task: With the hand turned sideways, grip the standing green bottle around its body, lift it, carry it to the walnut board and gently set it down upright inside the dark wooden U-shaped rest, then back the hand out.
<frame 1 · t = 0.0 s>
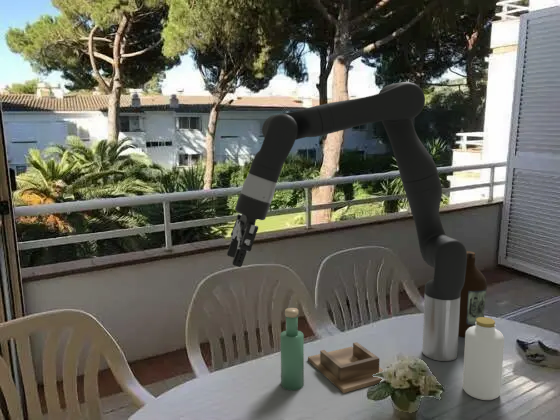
hand: (233, 260, 111), 31 cm above the table, tool tilted 20°, fingers open, 8 cm apart
potion bottle: (480, 393, 112), on the table
bottle: (292, 384, 116), on the table
bottle rest: (347, 369, 123), on the table
olive oil: (465, 332, 145), on the table
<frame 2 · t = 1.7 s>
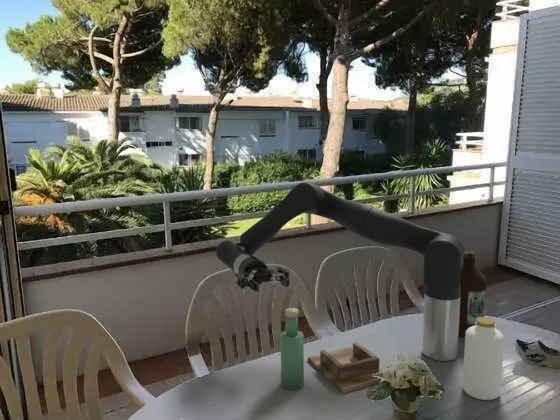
hand: (272, 285, 122), 22 cm above the table, tool horizontal, fingers open, 8 cm apart
nothing on the table moved.
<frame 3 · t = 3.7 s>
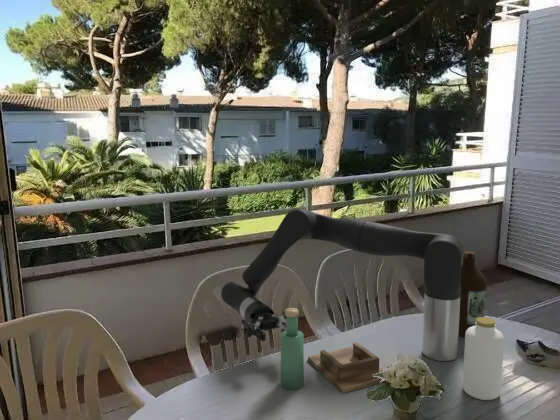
hand: (279, 334, 121), 10 cm above the table, tool horizontal, fingers open, 8 cm apart
nothing on the table moved.
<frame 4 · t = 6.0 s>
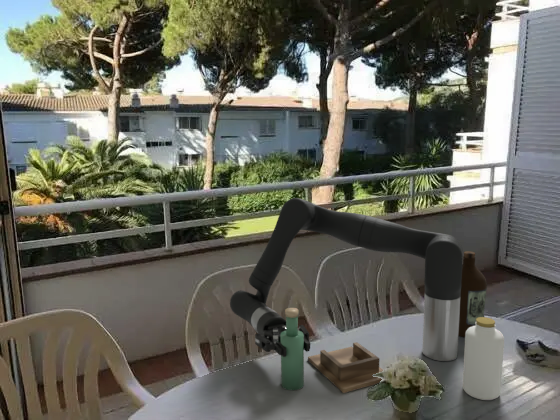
hand: (296, 350, 112), 10 cm above the table, tool horizontal, fingers closed on bottle, 5 cm apart
bottle: (292, 384, 116), on the table, touching gripper
everything else where it was.
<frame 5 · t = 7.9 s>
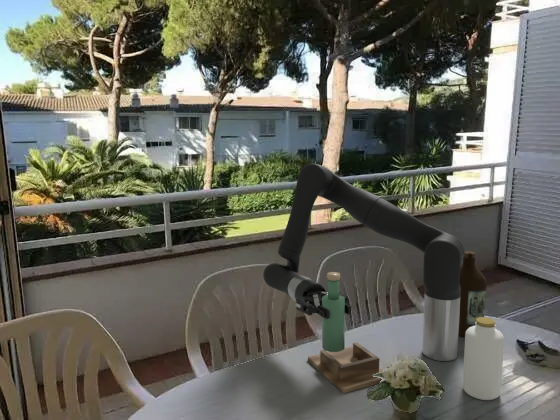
hand: (339, 312, 115), 18 cm above the table, tool horizontal, fingers closed on bottle, 5 cm apart
bottle: (333, 347, 119), point 8 cm above the table, touching gripper
everything else where it was.
when the fingers open (12 cm above the table, at t = 10.1 s): bottle drops 1 cm, resting on bottle rest.
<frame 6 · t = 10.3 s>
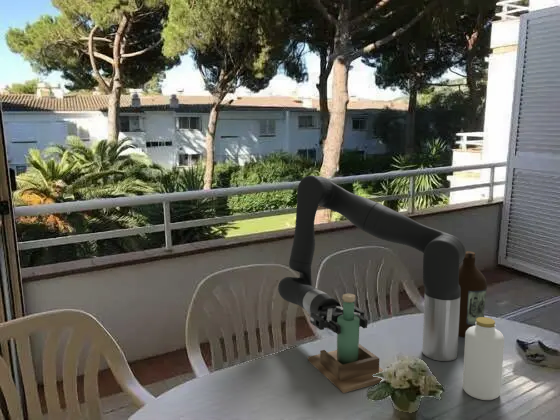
hand: (352, 327, 119), 12 cm above the table, tool horizontal, fingers open, 7 cm apart
bottle: (347, 365, 123), point 1 cm above the table, touching bottle rest
everything else where it was.
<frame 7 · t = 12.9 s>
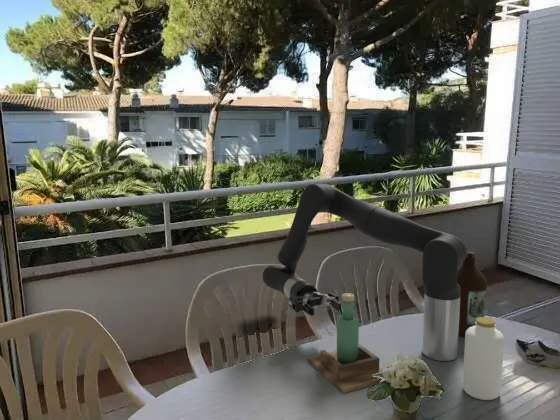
hand: (326, 309, 131), 13 cm above the table, tool horizontal, fingers open, 8 cm apart
nothing on the table moved.
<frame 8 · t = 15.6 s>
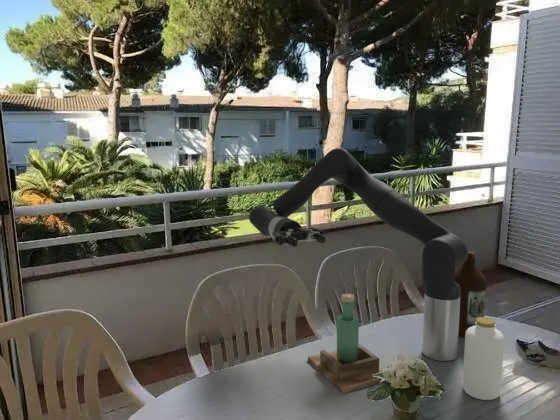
hand: (310, 241, 128), 32 cm above the table, tool horizontal, fingers open, 8 cm apart
nothing on the table moved.
at the end: bottle 0.2 cm off-centre on the bottle rest, point 1.1 cm above the bottle rest's base; bottle tilted 1°; the gripper is holding nothing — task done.
